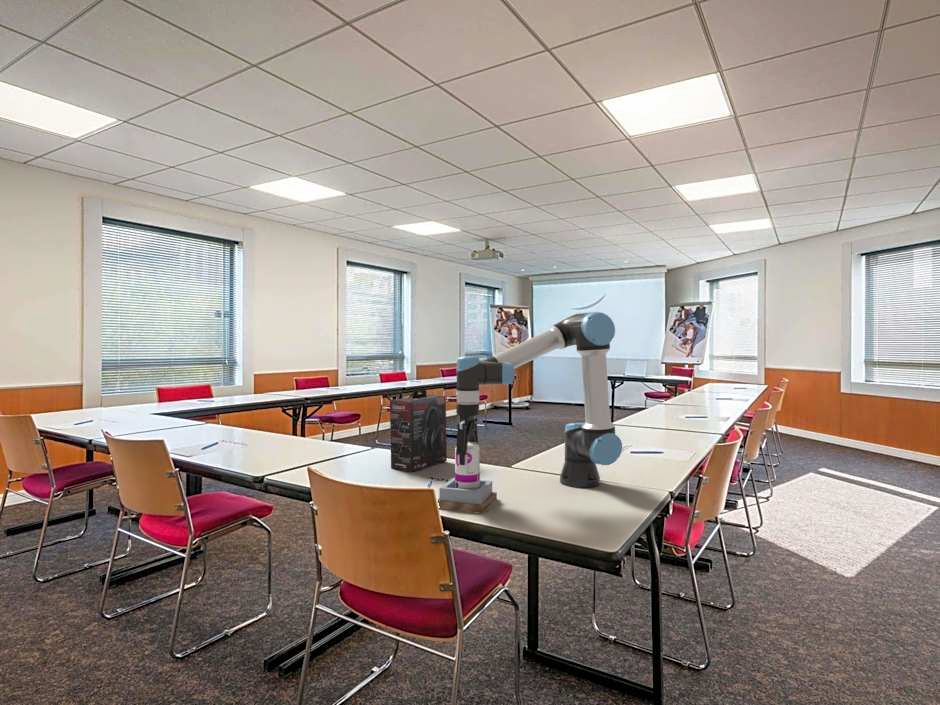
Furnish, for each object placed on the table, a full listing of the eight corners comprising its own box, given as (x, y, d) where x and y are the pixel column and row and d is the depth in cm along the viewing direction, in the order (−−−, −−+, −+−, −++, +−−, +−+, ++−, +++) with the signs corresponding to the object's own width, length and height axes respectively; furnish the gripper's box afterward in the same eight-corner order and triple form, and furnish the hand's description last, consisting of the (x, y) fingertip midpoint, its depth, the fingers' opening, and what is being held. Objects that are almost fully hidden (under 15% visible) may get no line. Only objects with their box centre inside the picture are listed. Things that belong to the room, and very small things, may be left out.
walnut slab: (496, 501, 179) (496, 492, 179) (482, 515, 164) (483, 505, 164) (452, 496, 184) (452, 488, 184) (435, 510, 169) (435, 500, 169)
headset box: (411, 472, 216) (411, 392, 215) (388, 468, 223) (388, 390, 222) (447, 462, 236) (448, 388, 235) (425, 458, 243) (426, 387, 242)
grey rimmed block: (492, 492, 179) (492, 480, 179) (481, 504, 166) (481, 491, 166) (453, 489, 183) (453, 477, 183) (439, 500, 170) (439, 488, 170)
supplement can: (471, 493, 169) (471, 447, 168) (450, 489, 173) (450, 444, 173) (484, 487, 176) (484, 443, 175) (463, 484, 180) (463, 440, 180)
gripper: (467, 399, 185) (467, 463, 185) (445, 406, 165) (445, 477, 166) (487, 400, 183) (487, 465, 183) (468, 407, 163) (467, 480, 163)
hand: (467, 471), depth 174 cm, fingers closed on supplement can, 8 cm apart
